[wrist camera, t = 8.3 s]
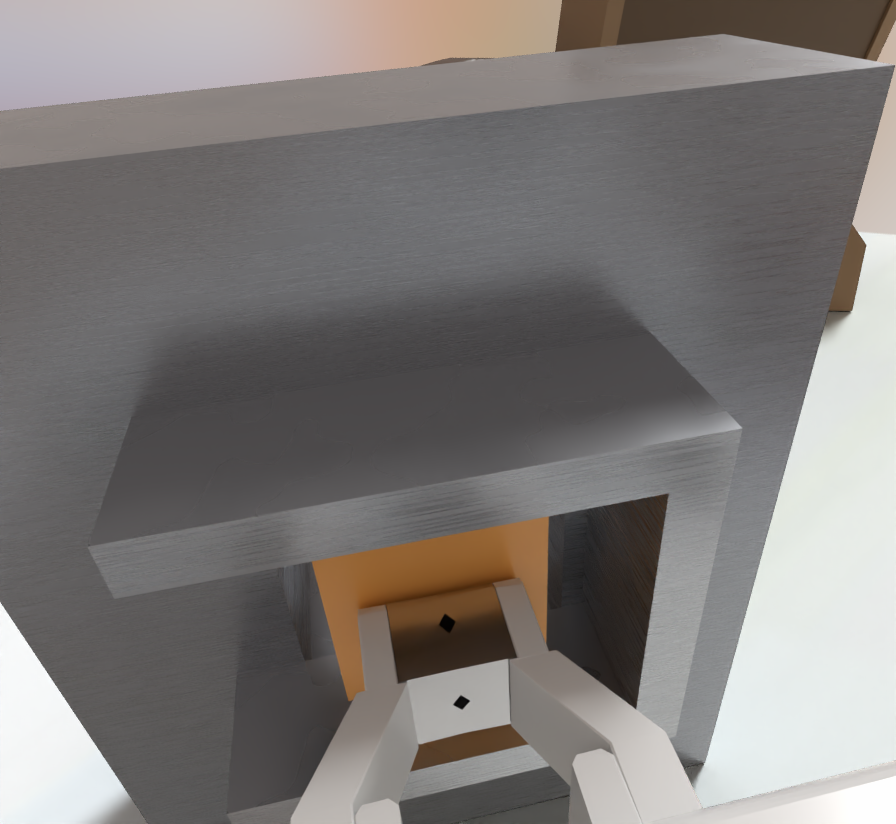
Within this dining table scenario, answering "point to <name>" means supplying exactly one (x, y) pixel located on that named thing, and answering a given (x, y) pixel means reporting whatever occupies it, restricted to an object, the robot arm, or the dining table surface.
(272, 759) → the panel
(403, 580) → the plunger
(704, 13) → the photo frame
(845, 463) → the dining table surface
